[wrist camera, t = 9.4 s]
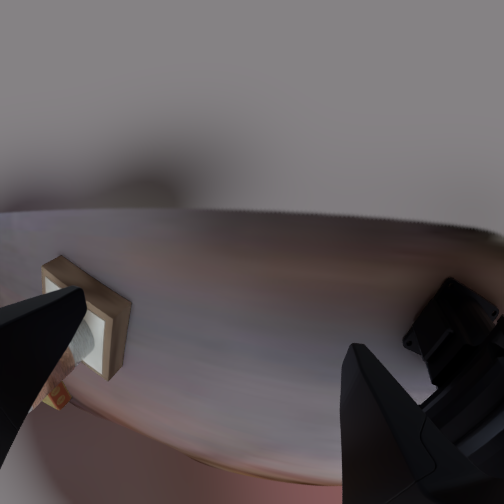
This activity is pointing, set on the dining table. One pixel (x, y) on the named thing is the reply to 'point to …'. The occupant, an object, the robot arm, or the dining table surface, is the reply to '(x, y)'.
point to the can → (68, 360)
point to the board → (94, 314)
